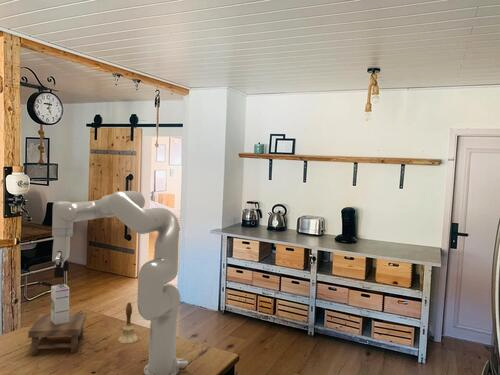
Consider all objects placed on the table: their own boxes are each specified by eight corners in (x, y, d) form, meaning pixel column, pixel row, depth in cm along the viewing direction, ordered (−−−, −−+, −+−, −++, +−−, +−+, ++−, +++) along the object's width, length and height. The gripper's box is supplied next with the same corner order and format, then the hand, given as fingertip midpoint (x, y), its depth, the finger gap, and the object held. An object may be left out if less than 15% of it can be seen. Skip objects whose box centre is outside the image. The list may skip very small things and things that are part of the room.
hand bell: (114, 342, 166) (115, 305, 166) (123, 334, 174) (125, 299, 174) (132, 345, 165) (134, 307, 164) (141, 337, 173) (142, 301, 172)
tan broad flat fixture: (85, 335, 172) (86, 312, 171) (78, 354, 154) (79, 328, 154) (40, 337, 167) (40, 314, 167) (27, 357, 150) (28, 331, 149)
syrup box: (69, 322, 160) (70, 286, 159) (53, 325, 156) (54, 289, 155) (65, 317, 164) (66, 283, 163) (49, 320, 160) (50, 285, 160)
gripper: (57, 228, 166) (56, 269, 167) (47, 235, 150) (46, 280, 150) (76, 228, 168) (75, 268, 169) (68, 235, 151) (67, 279, 152)
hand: (61, 274), depth 160 cm, fingers open, 9 cm apart
